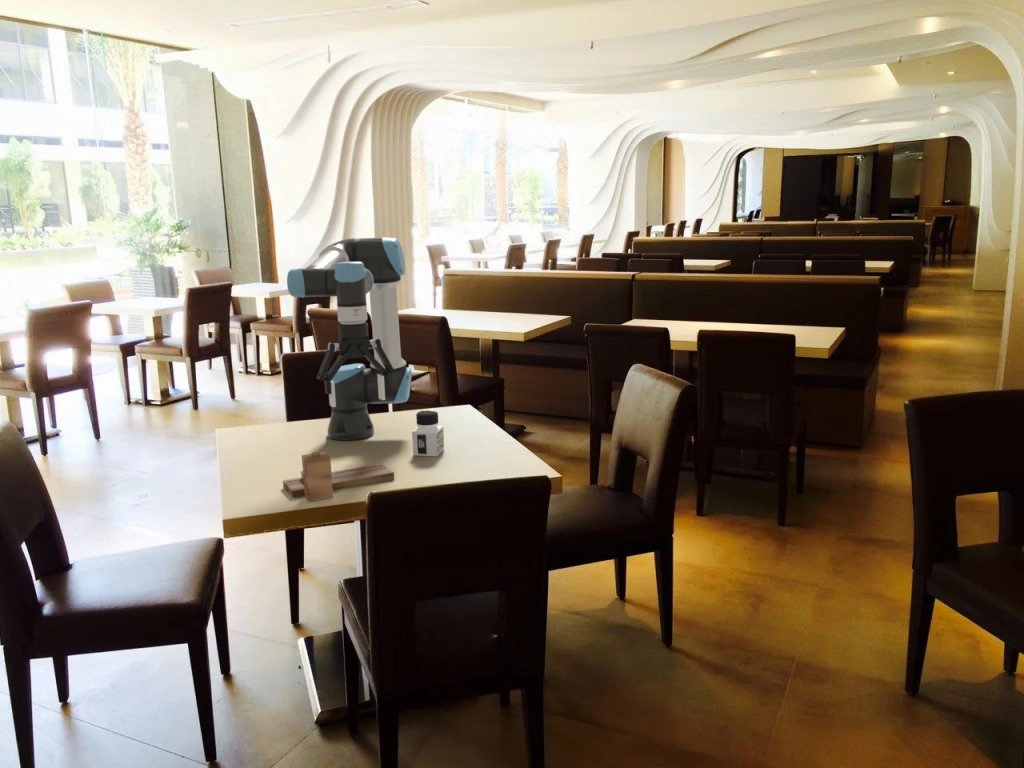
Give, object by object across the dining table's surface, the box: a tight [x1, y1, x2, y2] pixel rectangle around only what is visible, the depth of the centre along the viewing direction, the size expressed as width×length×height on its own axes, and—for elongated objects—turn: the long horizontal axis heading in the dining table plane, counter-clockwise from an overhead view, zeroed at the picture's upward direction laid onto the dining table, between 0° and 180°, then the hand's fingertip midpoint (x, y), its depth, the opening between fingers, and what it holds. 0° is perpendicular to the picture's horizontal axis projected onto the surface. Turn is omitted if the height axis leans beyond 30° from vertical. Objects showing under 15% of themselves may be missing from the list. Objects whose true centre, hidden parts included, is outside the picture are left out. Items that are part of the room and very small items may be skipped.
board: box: [282, 462, 395, 499], centre depth 224 cm, size 10×28×2 cm, turn 119°
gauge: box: [300, 451, 334, 502], centre depth 216 cm, size 14×6×12 cm, turn 29°
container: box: [411, 409, 445, 457], centre depth 249 cm, size 8×8×13 cm
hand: (357, 402), depth 216 cm, fingers open, 13 cm apart
